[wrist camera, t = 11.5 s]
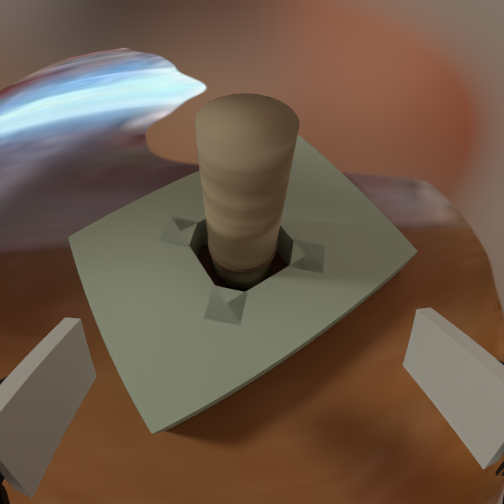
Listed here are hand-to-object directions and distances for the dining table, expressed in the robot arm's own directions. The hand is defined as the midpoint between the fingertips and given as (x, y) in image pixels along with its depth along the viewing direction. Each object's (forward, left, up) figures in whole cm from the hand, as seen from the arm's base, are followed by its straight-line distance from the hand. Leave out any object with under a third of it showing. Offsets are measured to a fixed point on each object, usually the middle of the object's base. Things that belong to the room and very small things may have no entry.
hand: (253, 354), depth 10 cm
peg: (+4, +7, -8) cm, 11 cm away
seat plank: (+4, +7, -8) cm, 11 cm away
